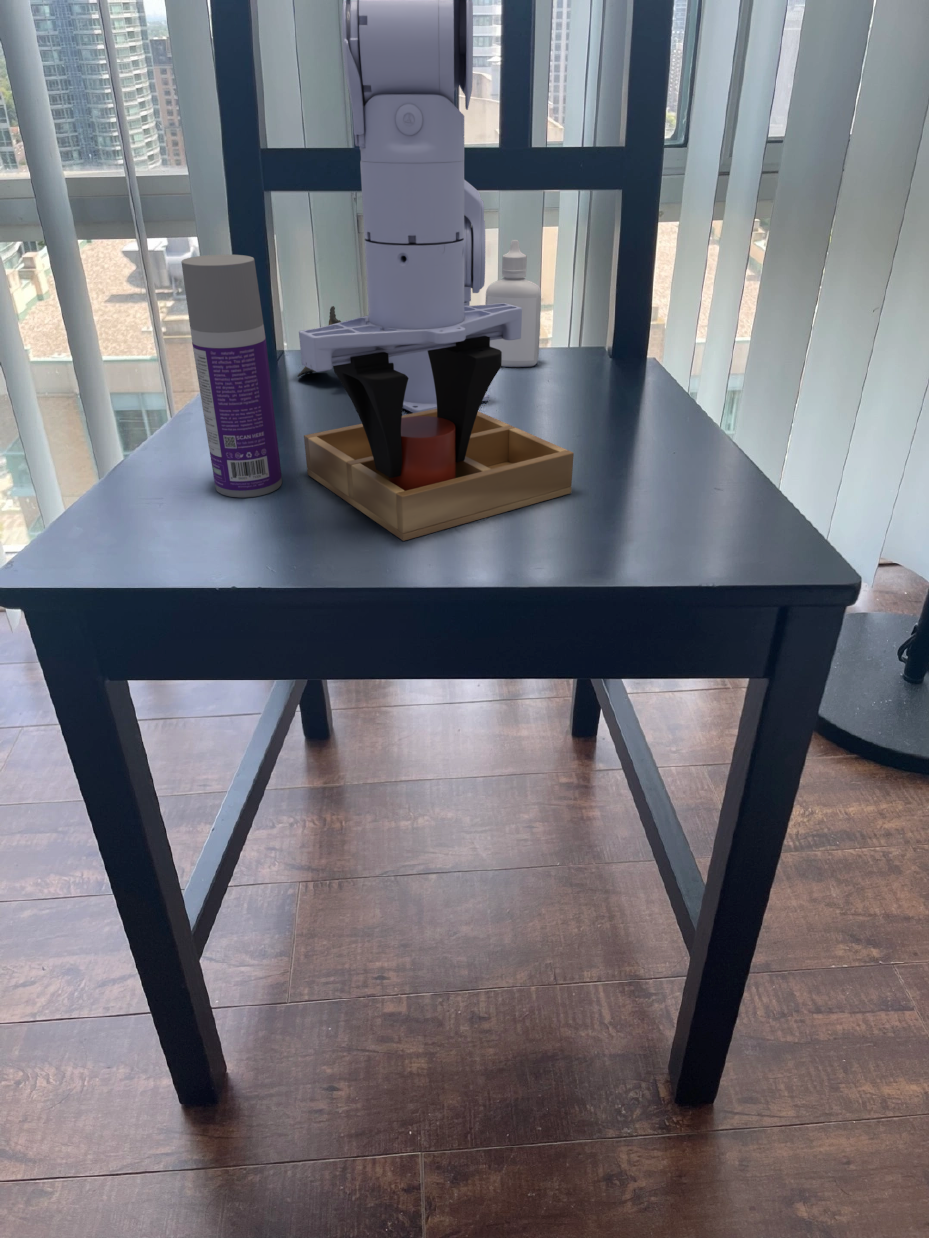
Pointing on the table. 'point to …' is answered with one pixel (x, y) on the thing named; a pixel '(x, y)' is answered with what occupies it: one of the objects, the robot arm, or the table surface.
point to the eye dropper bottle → (520, 295)
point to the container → (233, 373)
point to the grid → (484, 485)
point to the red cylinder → (426, 452)
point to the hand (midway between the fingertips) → (420, 464)
